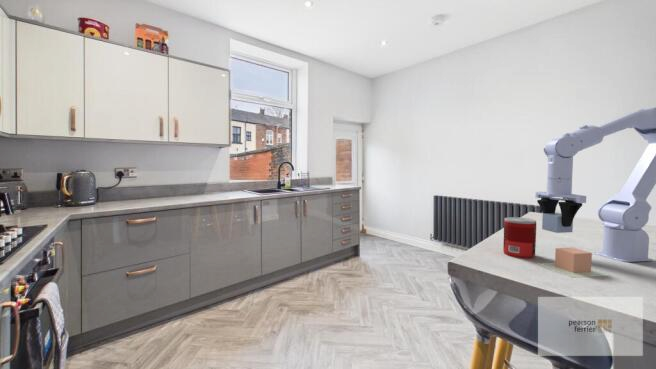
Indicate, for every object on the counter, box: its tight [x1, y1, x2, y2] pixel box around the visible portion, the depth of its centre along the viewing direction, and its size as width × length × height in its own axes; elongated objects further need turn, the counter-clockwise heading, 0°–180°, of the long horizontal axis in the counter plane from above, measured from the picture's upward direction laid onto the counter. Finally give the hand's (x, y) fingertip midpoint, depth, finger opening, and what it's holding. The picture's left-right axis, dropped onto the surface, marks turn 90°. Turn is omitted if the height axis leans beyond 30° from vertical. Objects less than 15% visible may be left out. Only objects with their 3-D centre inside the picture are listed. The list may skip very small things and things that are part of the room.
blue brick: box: [541, 212, 574, 234], centre depth 86 cm, size 5×5×5 cm
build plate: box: [536, 262, 612, 278], centre depth 74 cm, size 11×10×1 cm
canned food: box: [502, 216, 537, 259], centre depth 86 cm, size 8×8×11 cm
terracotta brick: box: [554, 247, 593, 273], centre depth 74 cm, size 5×5×5 cm
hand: (557, 224), depth 86 cm, fingers closed on blue brick, 5 cm apart
